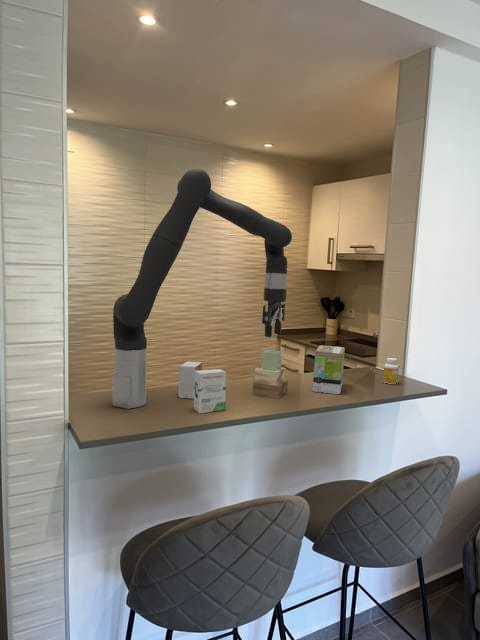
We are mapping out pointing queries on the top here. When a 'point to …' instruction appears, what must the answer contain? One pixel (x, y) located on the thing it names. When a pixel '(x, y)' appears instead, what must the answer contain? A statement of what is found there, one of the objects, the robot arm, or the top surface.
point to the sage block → (271, 360)
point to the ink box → (209, 390)
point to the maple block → (269, 376)
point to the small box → (187, 378)
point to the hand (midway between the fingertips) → (272, 335)
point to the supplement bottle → (391, 371)
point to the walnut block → (270, 390)
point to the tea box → (328, 369)
